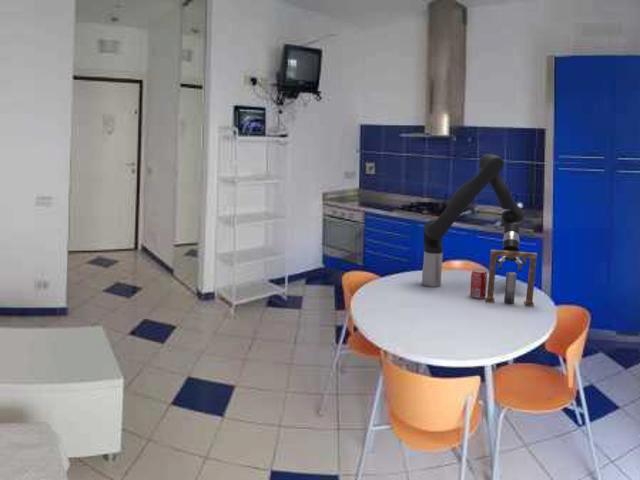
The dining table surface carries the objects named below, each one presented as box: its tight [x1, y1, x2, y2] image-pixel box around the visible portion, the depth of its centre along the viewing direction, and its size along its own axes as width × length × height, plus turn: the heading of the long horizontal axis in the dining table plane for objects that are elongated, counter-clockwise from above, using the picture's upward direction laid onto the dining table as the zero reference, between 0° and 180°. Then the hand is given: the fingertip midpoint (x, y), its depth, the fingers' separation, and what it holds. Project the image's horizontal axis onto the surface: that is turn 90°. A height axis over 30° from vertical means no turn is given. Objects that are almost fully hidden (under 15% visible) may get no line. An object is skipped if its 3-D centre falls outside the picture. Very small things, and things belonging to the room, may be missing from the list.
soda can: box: [469, 268, 488, 300], centre depth 250 cm, size 7×7×13 cm
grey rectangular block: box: [503, 271, 518, 305], centre depth 242 cm, size 4×5×14 cm
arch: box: [484, 249, 538, 307], centre depth 241 cm, size 21×5×24 cm, turn 73°
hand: (509, 270), depth 254 cm, fingers open, 8 cm apart
